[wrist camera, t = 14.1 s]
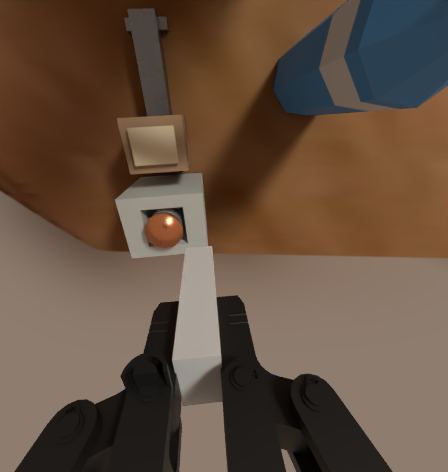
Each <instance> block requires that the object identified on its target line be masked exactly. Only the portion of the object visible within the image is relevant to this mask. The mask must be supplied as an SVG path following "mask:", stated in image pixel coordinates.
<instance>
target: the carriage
mask: <svg viewBox="0 0 448 472" xmlns="http://www.w3.org/2000/svg"><path fill="white" fill-rule="evenodd" d="M117 122H118V126H119V131H120V135H121V139H122V143H123V147H124V151H125V155H126V159H127V163H128V167H129V172H130V174H144V173H158V172H172V171H186V170H189V166H190V155H189V147H188V138H187V130H186V121H185V116H183V115H165V116H147V117H130V118H117Z"/></svg>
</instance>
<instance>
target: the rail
mask: <svg viewBox="0 0 448 472" xmlns="http://www.w3.org/2000/svg"><path fill="white" fill-rule="evenodd" d="M127 11H128V16H129V18H124V20H125V25H126V30H127V32H128V33H132V38H133V43H134V48H135V54H136V59H137V64H138V70H139V75H140V80H141V86H142V91H143V96H144V102H145V107H146V112H147V116H165V115H172V110H171V102H170V95H169V88H168V81H167V74H166V67H165V60H164V53H163V46H162V38H161V32H169V31H168V24H167V18H166V17H158V16H157V14H156V11H155V9H154V8H147V9H127ZM172 172H178V171H172ZM158 173H165V172H158Z"/></svg>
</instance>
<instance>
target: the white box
mask: <svg viewBox="0 0 448 472" xmlns="http://www.w3.org/2000/svg"><path fill="white" fill-rule="evenodd" d="M115 202H116V205H117V209H118V212H119V216H120V219H121V223H122V226H123V229H124V233H125V236H126V240H127V243H128V247H129V250H130V254H131V257H132V259H133V258H144V257H155V256H166V255H177V254H185V250H186V248H192V247H207V246H208V238H207V222H206V210H205V199H204V189H203V179H202V173H191V174H178V175H164V176H150V177H140V178H139V179H138V180H137V181H136V182H134V183H133V184H132V185H131V186H130V187H129V188H128V189H127V190H125V191H124V192H123V193H122V194H121V195H120V196H119V197H118V198H116V199H115ZM176 207H182V208H183V212H184V219H183V225H182V226H183V234H182V238H181V240H180V242H179V243H178V244H176V245H175V246H173V247H170V248H160V247H157V246H155V245H153V244H151V243H150V242H149V241H148V239H147V238H146V235H145V225H146V223H147V221H148V220H149V218H150V217H151V216H152V215H153V214H154V212H155V210H156V209H163V208H176Z"/></svg>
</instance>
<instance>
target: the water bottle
mask: <svg viewBox="0 0 448 472" xmlns="http://www.w3.org/2000/svg"><path fill="white" fill-rule="evenodd" d="M446 86H448V0H348V1H347V2H346V3H344V4H343V5H342V6H341V7H340V8H338V9H337V10H336V11H335V12H334V13H332V14H331V15H330V16H329V17H328V18H326V19H325V20H324V21H323V22H322V23H320V24H319V25H318V26H317V27H316V28H314V29H313V30H312V31H311V32H310V33H308V34H307V35H306V36H305V37H304V38H302V39H301V40H300V41H299V42H298V43H297V44H296V45H294V46H293V47H292V48H291V49H290V50H289V51H288V52H287V53H285V54H284V55H283V56H282V57H281V58H280V59H279V61H278V67H277V72H276V77H275V82H274V87H273V91H274V92H275V94H276V96H277V98H278V100H279V102H280V104H281V105H282V107H283V109H284V111H285V112H287V113H293V114H299V115H306V116H310V115H324V114H337V113H351V112H365V111H378V110H392V109H405V108H417V107H419V106H420V105H421V104H423V103H424V102H425V101H427V100H428V99H430V98H431V97H432V96H434V95H435V94H437V93H438V92H439V91H441V90H442V89H444V88H445V87H446Z"/></svg>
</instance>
